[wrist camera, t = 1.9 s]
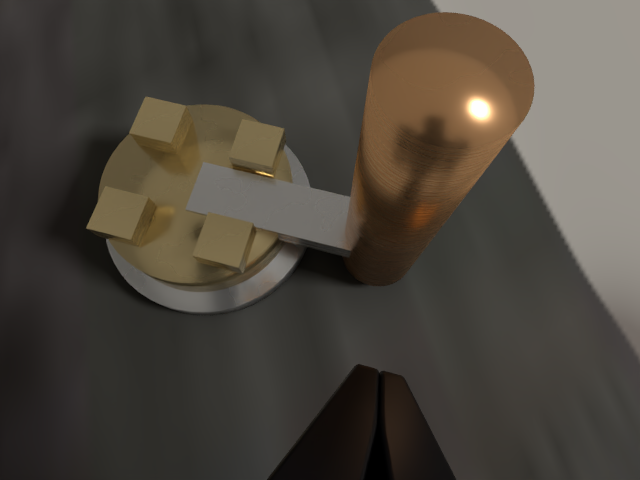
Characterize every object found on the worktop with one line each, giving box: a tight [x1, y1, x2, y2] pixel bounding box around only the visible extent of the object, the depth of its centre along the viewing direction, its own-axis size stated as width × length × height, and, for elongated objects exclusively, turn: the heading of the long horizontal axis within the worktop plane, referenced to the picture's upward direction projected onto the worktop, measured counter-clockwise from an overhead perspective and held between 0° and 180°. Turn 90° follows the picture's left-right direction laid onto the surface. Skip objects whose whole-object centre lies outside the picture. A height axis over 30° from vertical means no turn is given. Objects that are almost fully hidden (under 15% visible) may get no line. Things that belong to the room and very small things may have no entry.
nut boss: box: [106, 145, 310, 315], centre depth 21 cm, size 10×10×1 cm
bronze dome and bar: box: [86, 12, 534, 292], centre depth 15 cm, size 14×8×12 cm, turn 75°
